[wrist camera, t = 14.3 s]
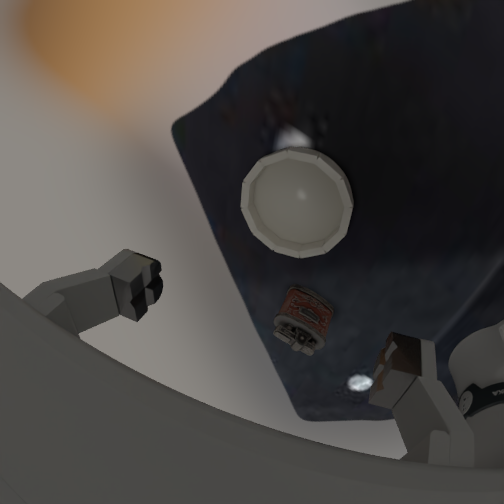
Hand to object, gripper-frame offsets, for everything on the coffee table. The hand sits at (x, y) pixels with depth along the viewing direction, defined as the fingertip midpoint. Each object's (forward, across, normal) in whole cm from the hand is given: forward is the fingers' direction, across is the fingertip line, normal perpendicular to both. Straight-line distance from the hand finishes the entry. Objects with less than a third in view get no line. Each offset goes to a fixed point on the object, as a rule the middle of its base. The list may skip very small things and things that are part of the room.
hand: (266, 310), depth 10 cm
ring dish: (+31, +5, +9) cm, 33 cm away
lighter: (+31, 0, +25) cm, 40 cm away
